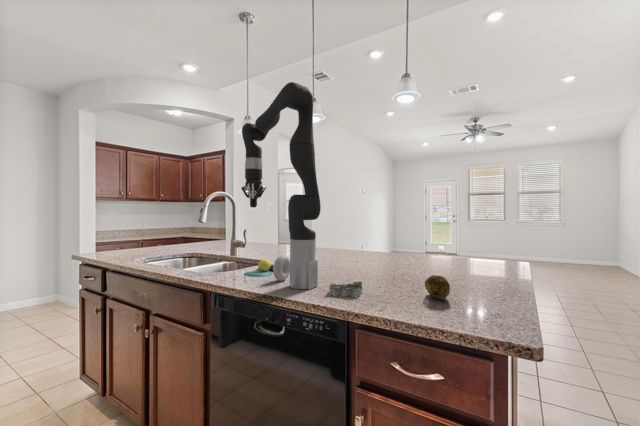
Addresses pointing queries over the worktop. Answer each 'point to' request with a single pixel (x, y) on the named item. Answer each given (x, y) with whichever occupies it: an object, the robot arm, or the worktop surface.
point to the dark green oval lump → (437, 286)
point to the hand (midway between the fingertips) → (253, 207)
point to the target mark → (258, 273)
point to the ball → (264, 265)
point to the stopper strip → (270, 268)
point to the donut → (281, 268)
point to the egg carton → (346, 289)
